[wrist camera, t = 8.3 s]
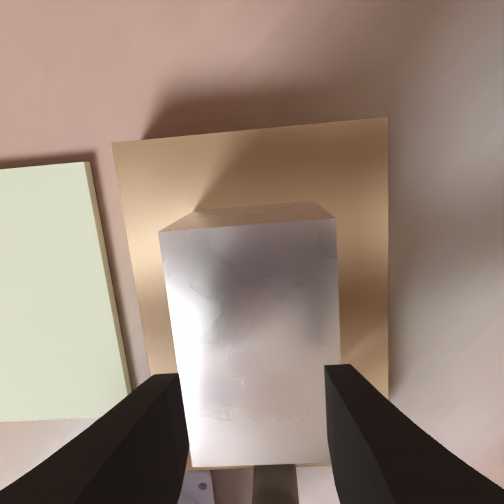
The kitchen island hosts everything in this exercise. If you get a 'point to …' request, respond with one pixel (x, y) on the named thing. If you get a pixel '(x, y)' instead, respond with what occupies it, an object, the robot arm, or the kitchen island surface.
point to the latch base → (264, 193)
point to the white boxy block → (254, 330)
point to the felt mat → (56, 299)
